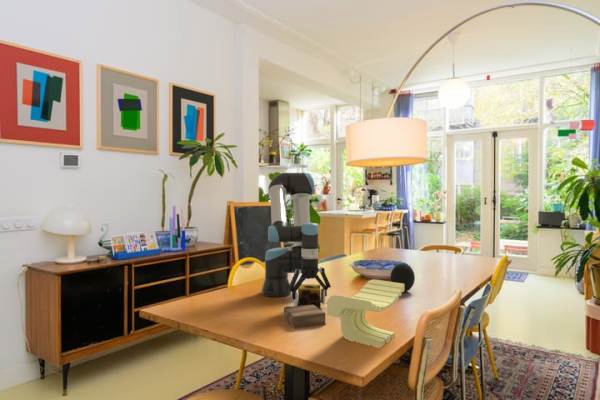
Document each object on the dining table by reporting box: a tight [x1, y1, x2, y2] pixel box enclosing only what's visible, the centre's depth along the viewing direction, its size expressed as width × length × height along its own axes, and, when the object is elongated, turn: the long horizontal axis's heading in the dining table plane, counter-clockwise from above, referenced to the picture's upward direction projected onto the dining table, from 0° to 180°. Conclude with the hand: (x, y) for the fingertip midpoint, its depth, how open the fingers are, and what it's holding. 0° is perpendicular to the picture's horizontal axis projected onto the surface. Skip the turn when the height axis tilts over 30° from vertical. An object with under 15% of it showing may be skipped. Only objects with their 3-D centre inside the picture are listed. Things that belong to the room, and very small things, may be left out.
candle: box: [297, 283, 322, 310], centre depth 179 cm, size 10×10×10 cm
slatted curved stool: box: [326, 278, 405, 348], centre depth 144 cm, size 30×16×18 cm, turn 144°
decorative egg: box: [390, 262, 416, 293], centre depth 210 cm, size 12×12×15 cm
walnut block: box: [283, 304, 326, 329], centre depth 162 cm, size 13×13×5 cm
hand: (309, 305), depth 179 cm, fingers closed on candle, 13 cm apart
